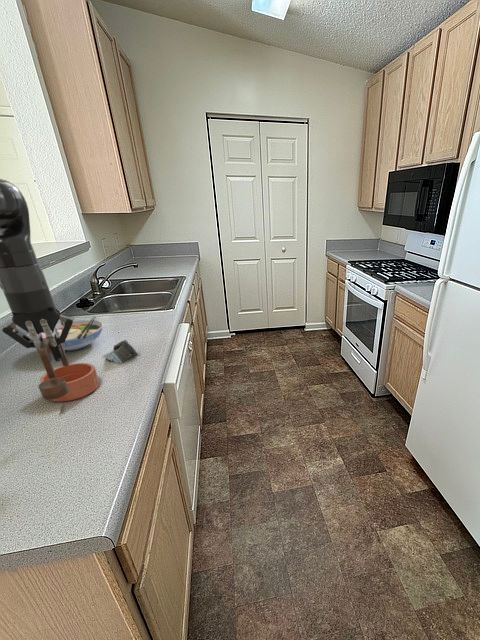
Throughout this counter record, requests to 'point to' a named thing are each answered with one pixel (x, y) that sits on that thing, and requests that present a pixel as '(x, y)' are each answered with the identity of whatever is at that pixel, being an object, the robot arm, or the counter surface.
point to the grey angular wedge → (121, 352)
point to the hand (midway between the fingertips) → (53, 360)
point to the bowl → (76, 380)
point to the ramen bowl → (80, 333)
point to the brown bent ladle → (52, 373)
